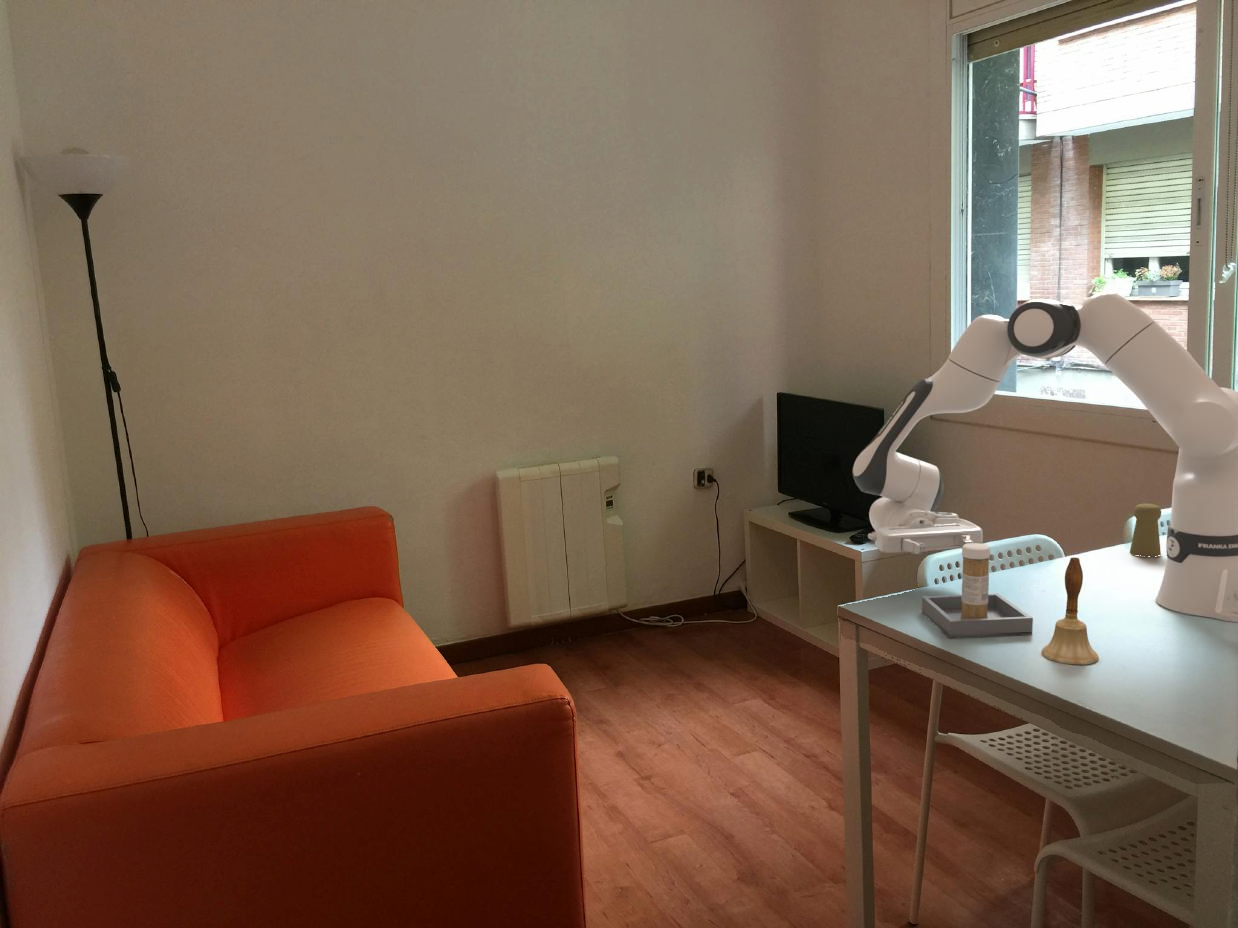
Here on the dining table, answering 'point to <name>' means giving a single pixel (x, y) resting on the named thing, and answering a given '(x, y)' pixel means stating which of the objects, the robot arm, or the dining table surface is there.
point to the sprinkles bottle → (975, 580)
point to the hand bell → (1071, 626)
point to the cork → (1146, 531)
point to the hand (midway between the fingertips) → (945, 547)
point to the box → (999, 622)
